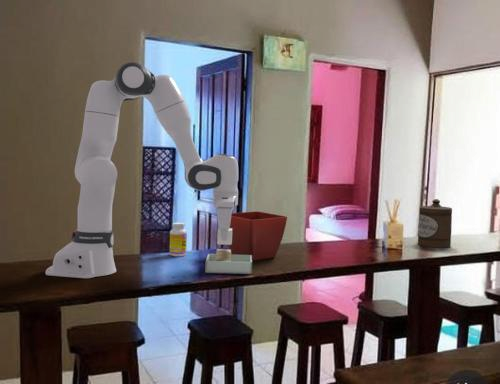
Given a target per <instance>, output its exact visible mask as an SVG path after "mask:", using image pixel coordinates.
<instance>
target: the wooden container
mask: <svg viewBox="0 0 500 384" xmlns="http://www.w3.org/2000/svg"><path fill="white" fill-rule="evenodd" d="M440 203H441V200H439V199H436V198H435V199H433V200H432V204H430V205H421V206H419V215H418V216H419V219H418V228H417V229H418V230H417V232H418V233H417V234H418V235H417V236H418V237H417V244H418V245H420V246H423V247H426V248H427V247H428V248H435V249H436V248H439V249H445V248H447V249H448V248H450V247H451V244H452V226H453V225H452V221H453V220H452V219H453V216H452V214H453V208H452V207H449V206H442V205H441V204H440Z"/></svg>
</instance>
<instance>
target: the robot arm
mask: <svg viewBox="0 0 500 384" xmlns="http://www.w3.org/2000/svg"><path fill="white" fill-rule="evenodd" d="M141 97H142V98H145V99H146V100H147V101H148V102H149V103H150V105H151V107H152V109H153V112H154V114H155V116H156V118H157V120H158V122H159V124H160V125H161V127H162V129H163V130H164V131H165V132H166V134H167V135H168V136H169V137H170V138H171V140H172V141H173V142H174V144H175V147H176V149H177V150H178V153H179V156H180V158H181V160H182V162H183V163H182V164H183V166H184V180H185V182H186V184H187V185H188V186H189V187H190V188H192V189H193V190H196V191H200V192H201V191H208V190H212V205H213V206H214V207H215V208H216V214H217V215H216V216H217V217H216V218H217V226H218V228H219V229H220V230H221V233H222V240H223V241H226V240H227V230H229V228H230V222H231V214H232V213H233V211H234V210H235V207H236V206H238V205H239V189H238V182H239V163H238V160H237V158H236V157H235V156H233V155H230V154H226V153H216V154H215V155H214V156H212V157H210V158H208V159H206V160H203V159H202V158H201V156H200V155H199V152H198V149H197V147H196V145H195V143H194V141H193V137H192V131H191V128H192V127H191V126H192V125H191V124H192V120H191V114H190V110H189V107H188V105H187V102H186V101H185V98H184V96H183V93H182V92H181V90H180V88H179V86H178V85H177V83H176V81H175V80H174V79H173V78H172V77H171V76H169V75H168V74H159V75H156V76H155V74H154V73H153V72H152V71H150V70H148V68H147V67H145V66H144V65H142V64H141V63H138V62H135V61H129V62H125V63H124V64H122V65H121V66H120V67H118V69H117V71H116V74H115V76H114V78H113V79H112V80H103V79H102V80H97V81H95V82H93V83H92V84H91V86H90V90H89V92H88V96H87V97H86V103H85V110H84V117H83V126H82V132H81V133H82V134H81V139H80V143H79V147H78V152H77V156H76V160H75V166H74V177H75V179H76V181H77V182H78V183H79V184H80V190H79V191H80V192H79V198H78V199H79V200H78V205H77V229H75V230H73V232H71V233H70V235H69V236H70V238H71V242H69V243H68V244H66V245H65V246H64V247H62V248H61V249H60V250H58V251H57V252H56V253H55V254H54V258H53V261H52V265H51V266H49V267H48V268H46V270H45V275H46V276H52V277H53V276H54V277H62V278H63V277H65V278H75V279H76V278H77V279H91V278H95V277H103V276H108V275H113V274H114V273H116V272H117V268H116V264H115V261H114V260H115V259H114V253H113V246H114V229H112V228H113V203H114V198H115V190H116V184H117V180H118V169H117V167H116V165H115V163H114V162H112V160H111V159H112V154H113V151H114V148H115V145H116V142H117V139H118V132H119V131H118V130H119V124H120V123H119V122H120V115H121V107H122V103H123V102H125V101H134V100H137V99H140V98H141Z"/></svg>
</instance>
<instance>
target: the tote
mask: <svg viewBox="0 0 500 384" xmlns="http://www.w3.org/2000/svg"><path fill="white" fill-rule="evenodd" d="M204 270H205V274H206V273H207V274H235V275H237V274H240V275H242V274H243V275H252V274H253V261H252V255H232V253H231V262H227V261H216V253H208V254H207V257H206V260H205V267H204Z"/></svg>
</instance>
